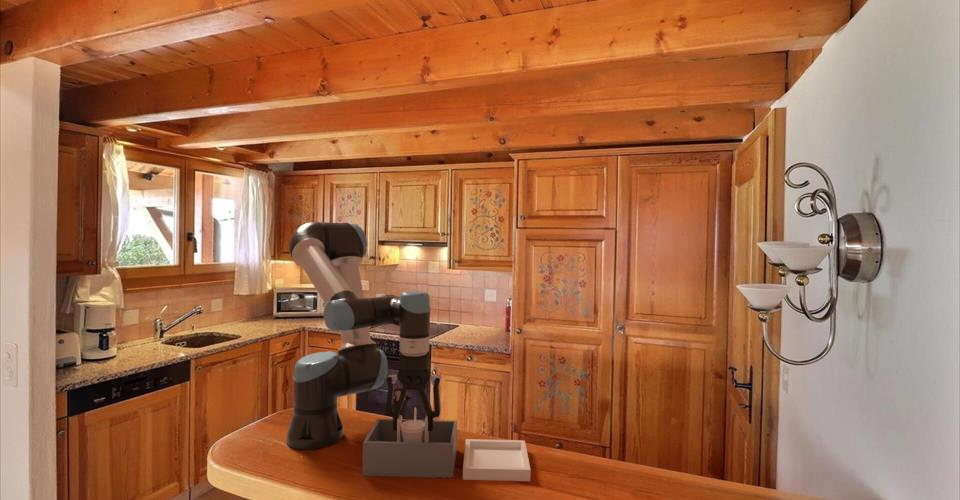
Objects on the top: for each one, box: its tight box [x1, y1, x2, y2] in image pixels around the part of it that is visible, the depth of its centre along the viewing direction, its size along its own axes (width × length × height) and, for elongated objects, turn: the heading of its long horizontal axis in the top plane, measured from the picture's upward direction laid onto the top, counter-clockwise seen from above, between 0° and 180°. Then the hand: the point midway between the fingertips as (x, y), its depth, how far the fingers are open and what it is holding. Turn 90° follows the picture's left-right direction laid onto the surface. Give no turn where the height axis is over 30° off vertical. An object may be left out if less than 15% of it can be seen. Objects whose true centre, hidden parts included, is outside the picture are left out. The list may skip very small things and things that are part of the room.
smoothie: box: [400, 407, 425, 442], centre depth 115 cm, size 6×6×14 cm
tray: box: [462, 438, 531, 482], centre depth 115 cm, size 16×16×3 cm
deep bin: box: [362, 418, 458, 479], centre depth 115 cm, size 22×15×8 cm
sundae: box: [393, 384, 412, 419], centre depth 134 cm, size 7×7×15 cm
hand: (412, 442), depth 115 cm, fingers closed on smoothie, 6 cm apart
